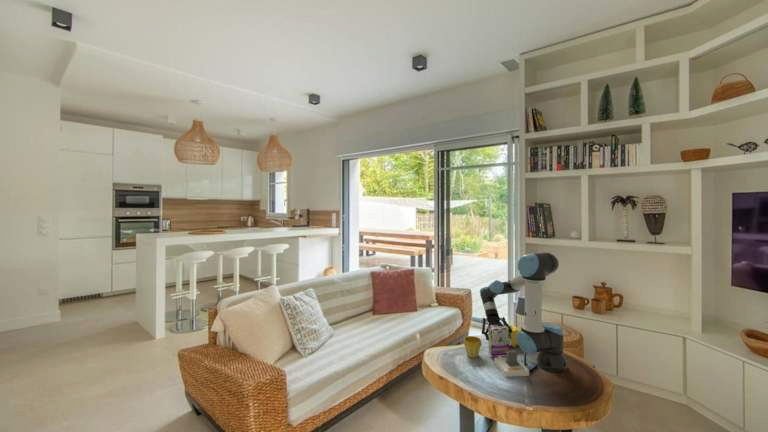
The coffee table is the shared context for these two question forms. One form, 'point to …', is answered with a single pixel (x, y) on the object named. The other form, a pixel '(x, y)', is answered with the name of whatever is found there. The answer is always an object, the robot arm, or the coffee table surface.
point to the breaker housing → (511, 367)
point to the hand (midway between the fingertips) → (500, 345)
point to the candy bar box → (499, 340)
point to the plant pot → (472, 346)
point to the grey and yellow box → (513, 335)
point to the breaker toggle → (512, 358)
